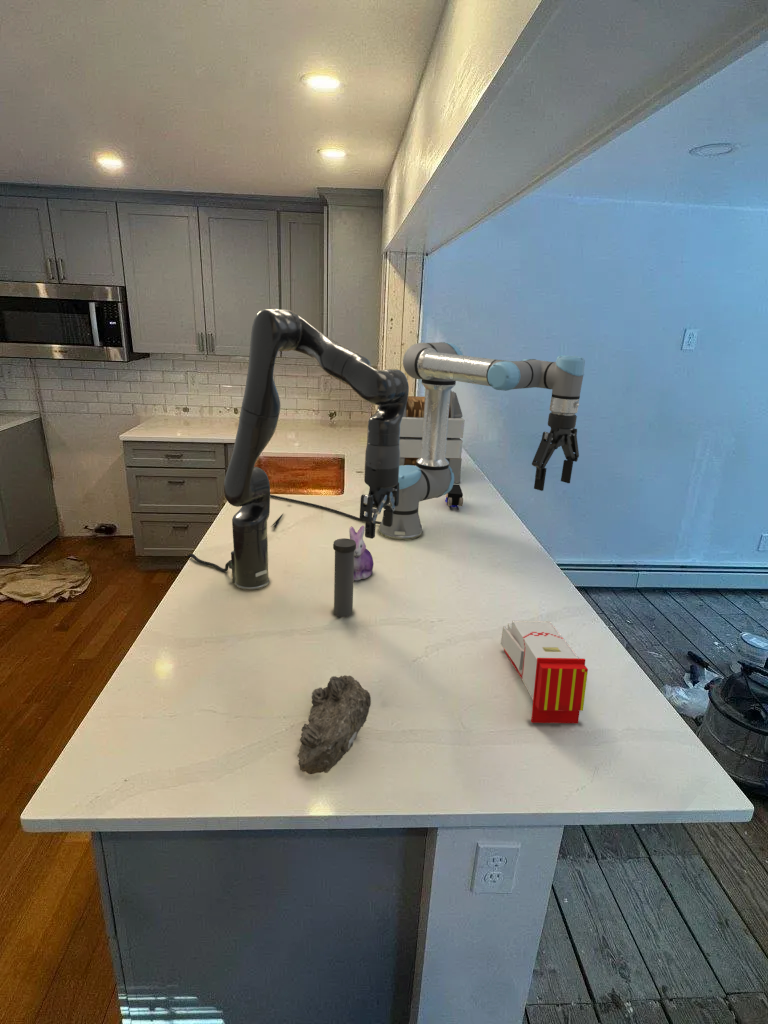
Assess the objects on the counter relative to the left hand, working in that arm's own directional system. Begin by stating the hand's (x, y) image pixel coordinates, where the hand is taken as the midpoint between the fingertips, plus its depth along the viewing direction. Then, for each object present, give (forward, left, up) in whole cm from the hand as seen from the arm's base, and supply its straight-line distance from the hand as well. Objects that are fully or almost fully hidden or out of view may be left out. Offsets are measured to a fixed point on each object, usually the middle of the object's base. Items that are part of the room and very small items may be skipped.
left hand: (378, 531), depth 130 cm
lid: (-12, +4, -7) cm, 14 cm away
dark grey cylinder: (-12, +4, -27) cm, 29 cm away
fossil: (+11, -35, -27) cm, 45 cm away
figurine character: (-19, +100, -27) cm, 106 cm away
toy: (+39, +2, -27) cm, 47 cm away
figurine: (-19, +25, -27) cm, 42 cm away
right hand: (+26, +57, +1) cm, 63 cm away
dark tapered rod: (-68, +50, -27) cm, 88 cm away
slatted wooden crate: (-52, +136, -27) cm, 148 cm away
